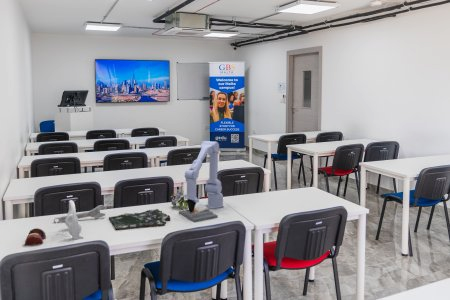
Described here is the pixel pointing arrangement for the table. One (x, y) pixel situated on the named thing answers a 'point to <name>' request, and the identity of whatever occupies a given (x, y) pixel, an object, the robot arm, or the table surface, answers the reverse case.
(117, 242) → the table surface
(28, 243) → the dark brown rounded lump
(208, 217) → the grey stepped slab
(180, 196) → the passion flower
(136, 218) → the topographical map
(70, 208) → the grey figurine
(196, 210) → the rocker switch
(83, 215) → the wrench
